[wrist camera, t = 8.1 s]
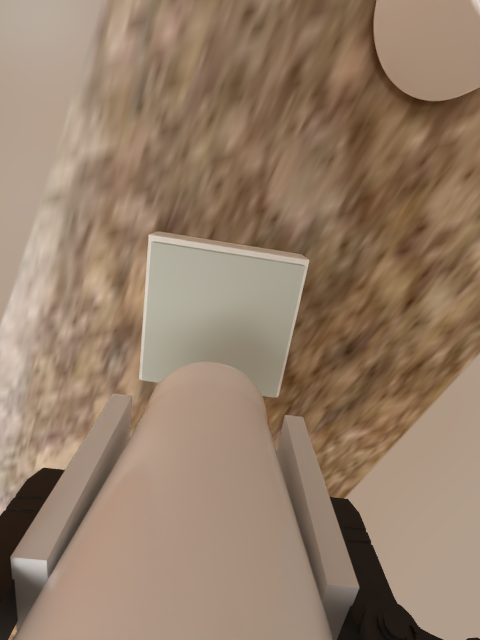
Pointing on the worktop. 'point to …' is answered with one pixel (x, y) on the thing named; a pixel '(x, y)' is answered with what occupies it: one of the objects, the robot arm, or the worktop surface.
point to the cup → (429, 46)
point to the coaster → (219, 307)
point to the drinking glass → (188, 530)
